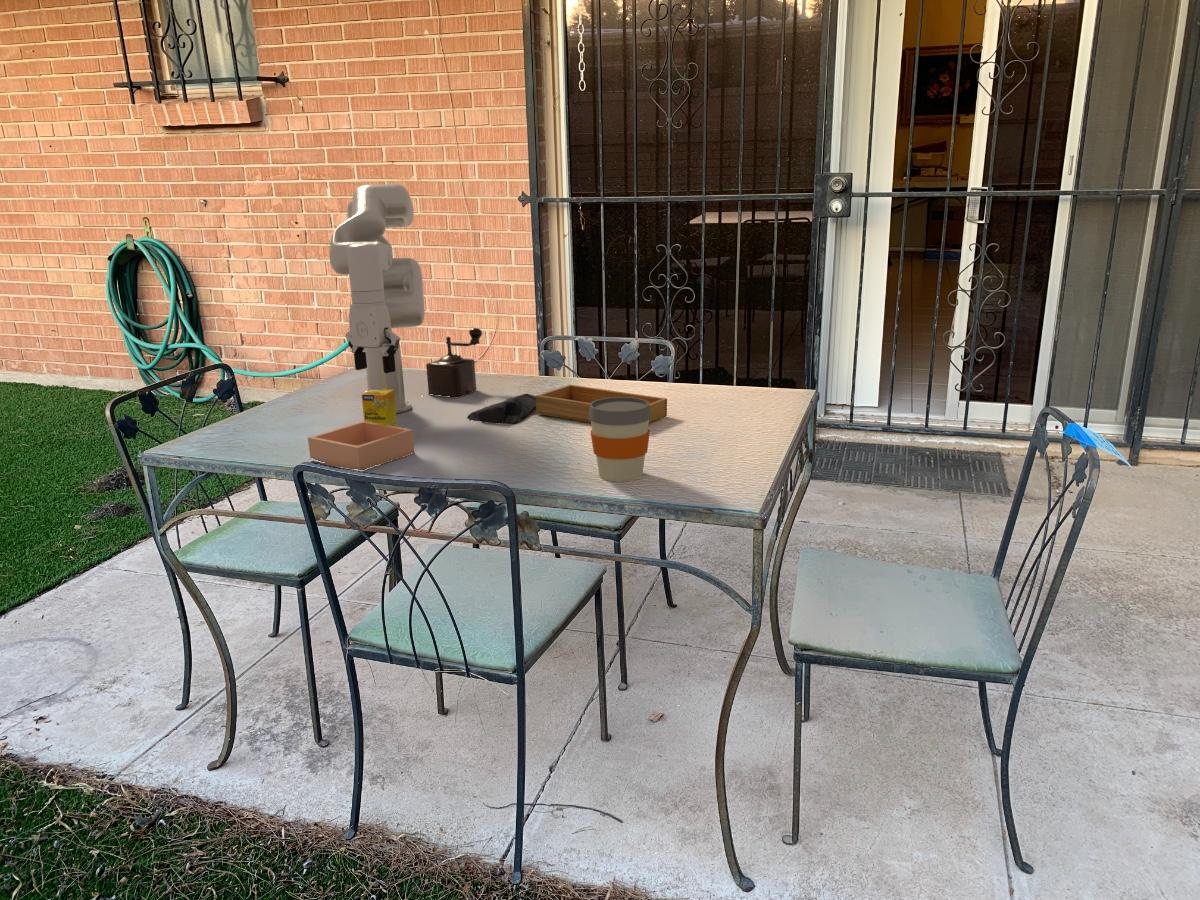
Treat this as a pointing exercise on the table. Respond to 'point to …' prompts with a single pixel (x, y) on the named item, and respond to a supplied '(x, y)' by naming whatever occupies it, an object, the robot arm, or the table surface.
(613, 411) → the reusable coffee cup
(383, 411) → the supplement box
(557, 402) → the tray
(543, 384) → the table surface
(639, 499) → the table surface
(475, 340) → the manual coffee grinder
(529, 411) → the dark slate chunk
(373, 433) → the planter box
